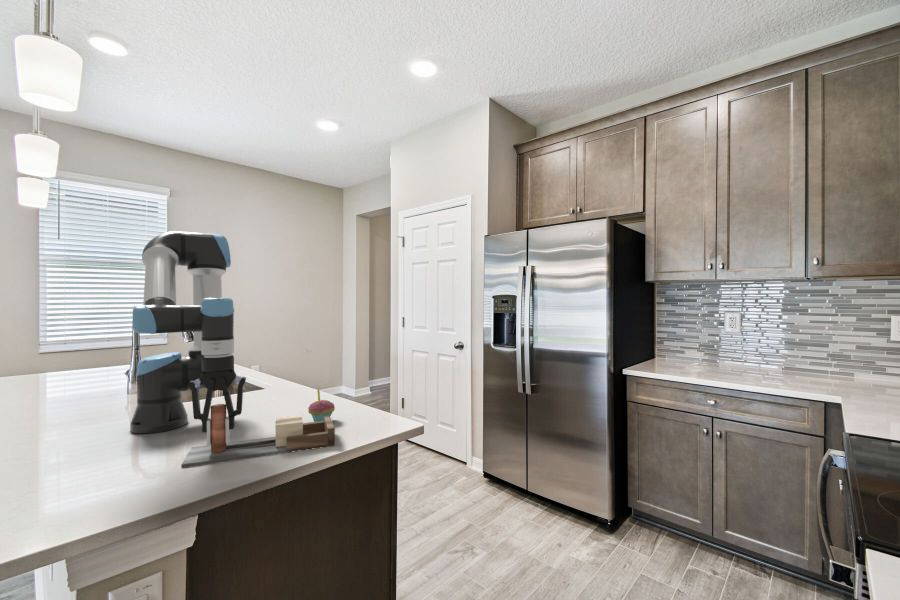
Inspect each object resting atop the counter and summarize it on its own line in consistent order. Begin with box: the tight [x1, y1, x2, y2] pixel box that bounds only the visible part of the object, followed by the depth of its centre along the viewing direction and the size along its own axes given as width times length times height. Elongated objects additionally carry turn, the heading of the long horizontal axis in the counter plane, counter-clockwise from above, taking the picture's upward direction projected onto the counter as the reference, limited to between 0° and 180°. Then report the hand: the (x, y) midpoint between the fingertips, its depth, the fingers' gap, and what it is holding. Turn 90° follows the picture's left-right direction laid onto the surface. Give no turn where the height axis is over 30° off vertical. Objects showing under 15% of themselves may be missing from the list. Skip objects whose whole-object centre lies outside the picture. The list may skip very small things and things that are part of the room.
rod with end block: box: [210, 403, 304, 453], centre depth 110 cm, size 7×23×12 cm, turn 113°
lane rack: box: [180, 416, 336, 468], centre depth 111 cm, size 12×37×5 cm, turn 113°
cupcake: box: [307, 388, 336, 422], centre depth 134 cm, size 9×8×12 cm
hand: (218, 442), depth 107 cm, fingers closed on rod with end block, 4 cm apart
